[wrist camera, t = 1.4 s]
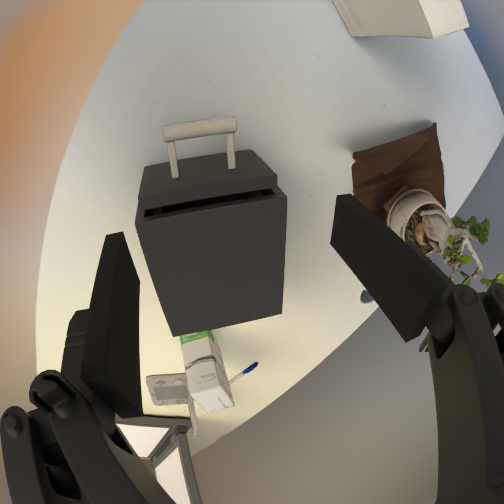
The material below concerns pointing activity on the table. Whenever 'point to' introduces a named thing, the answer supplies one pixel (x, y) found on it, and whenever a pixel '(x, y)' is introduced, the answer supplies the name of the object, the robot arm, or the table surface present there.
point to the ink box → (206, 371)
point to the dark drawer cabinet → (217, 261)
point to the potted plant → (417, 199)
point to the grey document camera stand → (165, 453)
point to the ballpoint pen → (244, 372)
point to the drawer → (203, 172)
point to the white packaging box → (402, 17)
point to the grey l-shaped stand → (172, 393)
